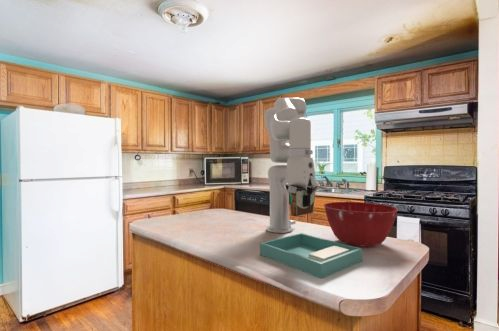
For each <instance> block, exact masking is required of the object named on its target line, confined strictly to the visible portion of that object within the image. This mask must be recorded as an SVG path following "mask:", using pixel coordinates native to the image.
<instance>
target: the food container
mask: <svg viewBox="0 0 499 331" xmlns="http://www.w3.org/2000/svg"><path fill="white" fill-rule="evenodd" d="M310 187H311V186H310ZM317 188H318V187H317ZM317 188H316V189H315V190H314V192H313V193H312V195H311V203H310V206H308V207H303V195H305V194H304V191H303V187H300V186H292V185H290V187H289V190H288V191H289V192H290V199H291V205H290V214H291V216H293V217H302V216H305V215H306V216H307V215H310V214H311V215H312V214H314V211H315V210H314V208H315V200H316V192H317V191H318V190H317Z"/></svg>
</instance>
